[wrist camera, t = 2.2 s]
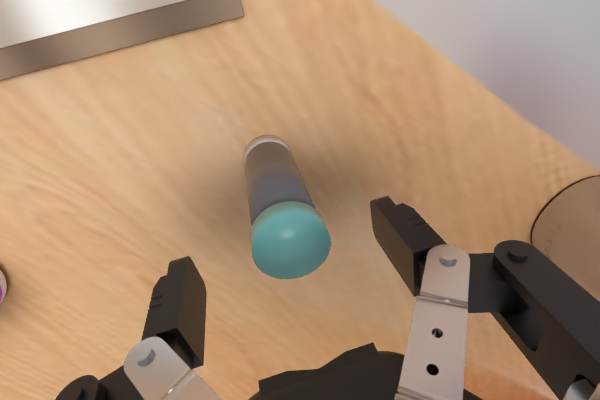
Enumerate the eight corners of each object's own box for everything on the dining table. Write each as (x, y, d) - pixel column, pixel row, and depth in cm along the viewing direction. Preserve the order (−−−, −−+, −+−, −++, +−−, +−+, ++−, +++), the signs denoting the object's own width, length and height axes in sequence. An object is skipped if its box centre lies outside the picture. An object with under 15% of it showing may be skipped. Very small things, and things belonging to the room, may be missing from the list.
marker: (285, 127, 21) (323, 206, 13) (296, 171, 23) (336, 265, 15) (235, 141, 21) (241, 230, 13) (250, 185, 23) (264, 287, 15)
